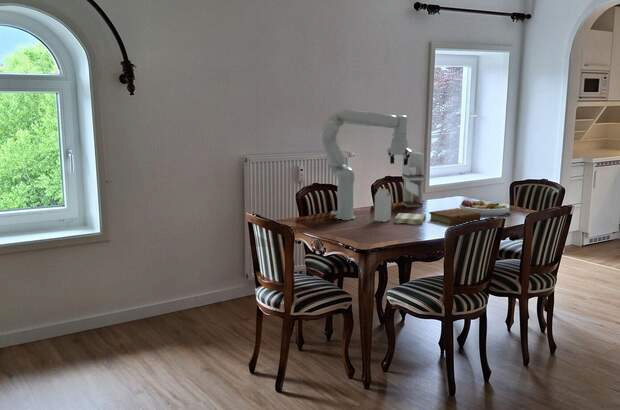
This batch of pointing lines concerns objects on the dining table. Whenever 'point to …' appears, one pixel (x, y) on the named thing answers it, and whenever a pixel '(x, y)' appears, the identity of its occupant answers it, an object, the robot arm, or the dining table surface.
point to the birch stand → (410, 218)
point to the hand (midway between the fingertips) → (398, 164)
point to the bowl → (485, 207)
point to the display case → (413, 180)
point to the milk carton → (382, 205)
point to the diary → (454, 216)
